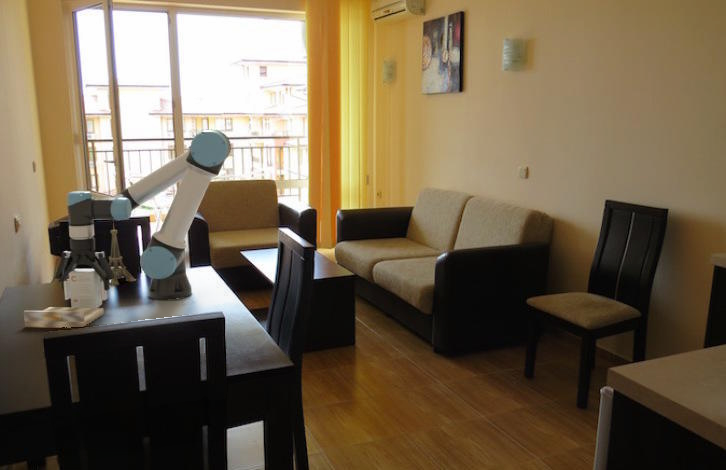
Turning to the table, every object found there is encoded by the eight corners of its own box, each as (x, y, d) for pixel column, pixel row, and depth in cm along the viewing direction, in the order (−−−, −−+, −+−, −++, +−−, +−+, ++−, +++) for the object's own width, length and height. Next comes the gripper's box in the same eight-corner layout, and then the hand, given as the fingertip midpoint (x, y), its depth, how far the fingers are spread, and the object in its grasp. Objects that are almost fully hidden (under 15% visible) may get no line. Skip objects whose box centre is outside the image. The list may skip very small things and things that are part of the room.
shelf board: (103, 313, 190) (102, 299, 190) (82, 328, 176) (81, 312, 176) (50, 312, 191) (48, 298, 190) (24, 327, 177) (23, 311, 176)
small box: (102, 304, 201) (100, 268, 199) (96, 309, 195) (93, 272, 192) (78, 304, 200) (75, 268, 198) (71, 310, 194) (68, 272, 192)
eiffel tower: (136, 280, 234) (133, 219, 229) (113, 285, 225) (109, 223, 220) (120, 276, 239) (116, 217, 235) (97, 281, 230) (93, 220, 226)
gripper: (122, 235, 197) (126, 296, 201) (52, 234, 197) (57, 295, 201) (113, 240, 189) (116, 302, 193) (40, 238, 190) (45, 301, 193)
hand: (86, 299), depth 197 cm, fingers open, 12 cm apart
